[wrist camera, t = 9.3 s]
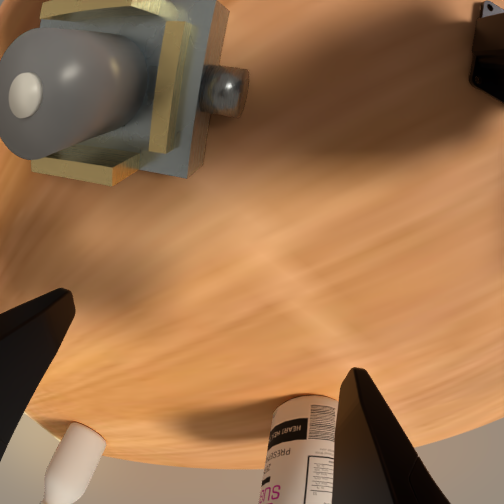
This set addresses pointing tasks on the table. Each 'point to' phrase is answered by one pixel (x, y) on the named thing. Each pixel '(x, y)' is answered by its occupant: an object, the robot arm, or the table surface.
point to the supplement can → (301, 452)
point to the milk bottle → (72, 465)
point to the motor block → (154, 87)
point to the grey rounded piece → (67, 88)
